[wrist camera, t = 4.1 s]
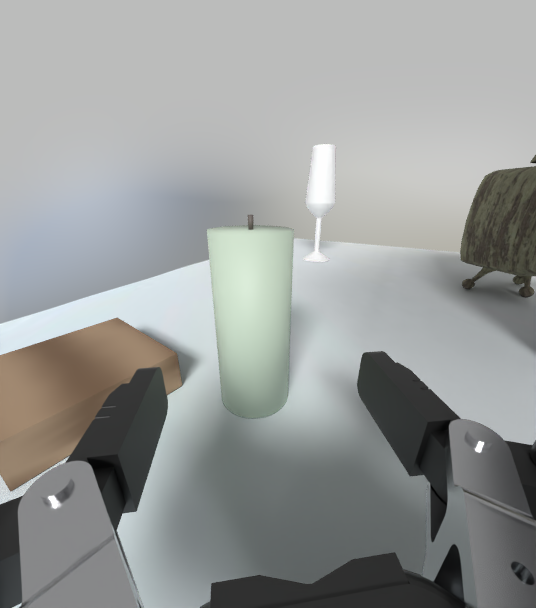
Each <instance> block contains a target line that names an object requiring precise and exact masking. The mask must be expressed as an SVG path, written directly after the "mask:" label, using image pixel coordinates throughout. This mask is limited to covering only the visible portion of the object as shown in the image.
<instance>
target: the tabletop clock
mask: <svg viewBox="0 0 536 608" xmlns="http://www.w3.org/2000/svg"><path fill="white" fill-rule="evenodd" d="M531 163H536V155H535V157H534V158H533V159H532V160H531ZM460 254H461V260H462V261H463V262H465V263H468V264H472V265H476V266H480V267H483V268H482V270H481V271H480V272H479V273H478V274H477V275H476V276H475V277H474V278H472V279H466V280H464V281H463V282H462V286H463V287H464V288H466V289H470V288H472V287H474V285H475V283H474V282H475V281H476V280H478V279H479V278H481V277H482V276H484V275H485V274H487V273H490V272H493V271H496V270H497V271H501V272H505V273H509V274H513V275H517V276H515V277H514V278H513V282H514V283H515V284H518V285H519V284H523V283H524V286H525V287H522V288H521V289H520V290H519V294H520V295H521V296H523V297H530V296H532V295H533V294H534V289H533V288H531V287H529V286H530V282H531V277H532V276H536V166H534V167H525V168H515V169H505V170H498V171H495V172H492V173H490V174H488V175H486V176H485V177H484V179H483V181H482V182H481V184H480V186H479V188H478V190H477V192H476V195H475V198H474V200H473V203H472V205H471V208H470V211H469V214H468V217H467V220H466V225H465V229H464V234H463V238H462V243H461V251H460Z"/></svg>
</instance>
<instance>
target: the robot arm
mask: <svg viewBox="0 0 536 608" xmlns="http://www.w3.org/2000/svg"><path fill="white" fill-rule="evenodd" d="M357 387H358V393H359V396H360V398H361V400H362V401H363V403H364V404H365V406H366V407H367V409H368V411H369V412H370V414H371V415H372V417H373V419H374V420H375V422H376V423H377V425H378V426H379V428H380V430H381V431H382V433H383V434H384V436H385V437H386V439H387V441H388V442H389V444H390V445H391V447H392V449H393V450H394V452H395V453H396V455H397V456H398V458H399V460H400V461H401V463H402V464H403V466H404V467H405V469H406V471H407V472H408V474H409V475H410V476H418V475H425V477H426V478H427V479H428V484H427V489H426V554H425V560H424V565H423V571H422V576H421V575H419V574H416V573H413V572H410V571H407V570H403V569H402V567H401V565H400V562H399V560H398V558H397V556H396V554H395V552H394V553H388V554H382V555H377V556H371V557H365V558H359V559H353V560H351V561H349V562H348V563H346V564H344V565H343V566H341V567H340V568H338V569H336V570H335V571H333V572H331V573H330V574H328V575H326V576H325V577H323V578H321V579H320V580H318V581H316V582H315V583H312V584H303V583H297V582H292V581H287V580H282V579H277V578H272V577H266V576H261V575H257V576H252V577H246V578H240V579H234V580H228V581H222V582H216V583H212V584H211V601H210V602H208V603H206V604H204V605H203V606H201V607H200V608H536V440H535V442H534V444H533V445H527V444H521V443H516V442H510V441H504V440H503V439H502V438H501V437H500V436H499V435H498V434H497V433H495V432H494V431H493V430H491V429H490V428H488V427H486V426H484V425H482V424H480V423H477V422H474V421H471V420H466V419H460V418H459V417H458V416H457V415H456V414H455V413H454V412H453V411H452V410H451V409H450V408H449V407H448V406H447V405H446V404H445V403H444V402H443V401H442V400H441V399H440V398H439V397H438V396H437V395H436V394H435V393H434V392H433V391H432V390H431V389H428V387H427V386H426V385H425V384H424V383H423V382H422V381H420V379H419V378H418V377H417V376H416V375H415V374H414V373H413V372H412V371H411V370H410V369H408V368H406V367H404V366H403V365H401V364H399V363H395V362H394V361H393V360H392V359H391V358H390V357H389V356H388V355H387V354H386V353H385V352H383V351H379V352H365V353H363V355H362V358H361V364H360V370H359V376H358V383H357ZM167 409H168V399H167V394H166V389H165V384H164V379H163V374H162V370H161V368H160V367H152V368H139V369H137V370H136V372H135V374H134V375H133V377H132V379H131V381H130V382H129V383H124V384H121V385H120V386H119V387H117V388H116V389H115V390H114V391H113V392H112V393H110V394H109V396H108V397H107V399H106V400H105V402H104V403H103V405H102V408H101V409H100V410H99V411H98V413H97V414H96V416H95V419H94V420H93V421H92V422H91V424H90V425H89V427H88V429H87V430H86V432H85V433H84V435H83V436H82V438H81V439H80V441H79V443H78V444H77V446H76V447H75V449H74V450H73V452H72V454H71V455H70V457H69V458H68V460H67V461H66V463H64V464H62V465H59V466H57V467H55V468H53V469H52V470H50V471H48V472H47V473H45V474H44V475H42V476H41V477H40V478H39V479H38V480H36V481H35V482H34V483H33V484H32V485H31V486H30V488H29V489H28V490H27V491H26V493H25V494H24V495H23V496H21V497H19V498H16V499H13V500H11V501H8V502H6V503H3V504H0V608H12V607H14V606H16V605H18V604H20V603H22V605H21V607H19V608H144V606H143V603H142V601H141V598H140V595H139V592H138V589H137V587H136V584H135V581H134V578H133V575H132V572H131V569H130V567H129V564H128V561H127V558H126V555H125V552H124V549H123V547H122V544H121V541H120V538H119V535H118V532H117V527H118V525H119V522H120V519H121V516H122V513H129V512H136V511H137V508H138V505H139V502H140V499H141V495H142V492H143V489H144V486H145V483H146V479H147V476H148V473H149V470H150V467H151V463H152V460H153V457H154V454H155V451H156V448H157V444H158V441H159V438H160V435H161V432H162V428H163V425H164V422H165V419H166V415H167Z"/></svg>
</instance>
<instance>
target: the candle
mask: <svg viewBox="0 0 536 608" xmlns="http://www.w3.org/2000/svg"><path fill="white" fill-rule="evenodd" d="M207 237H208V248H209V258H210V270H211V281H212V292H213V304H214V315H215V326H216V337H217V348H218V360H219V371H220V382H221V393H222V401H223V403H224V405H225V407H226V408H227V409H228V410H229V411H230V412H232V413H233V414H235V415H237V416H240V417H244V418H252V419H254V418H263V417H267V416H270V415H272V414H274V413H276V412H277V411H279V410H280V409H281V408H282V407H283V406H284V404H285V403H286V401H287V397H288V376H289V349H290V322H291V295H292V267H293V240H294V229H292V228H288V227H280V226H260V225H259V226H258V225H253V215H248V225H247V226H226V227H217V228H211V229H208V230H207Z"/></svg>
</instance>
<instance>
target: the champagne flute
mask: <svg viewBox="0 0 536 608" xmlns="http://www.w3.org/2000/svg"><path fill="white" fill-rule="evenodd" d="M335 163H336V146H335V145H331V144H322V145H316V146H313V150H312V157H311V165H310V172H309V179H308V187H307V194H306V201H305V203H306V206H307V208H308V210H309V211H310V212H311V213H312V214H313V215H314V216H315V217H316V233H315V247H314V251H313V252H312V253H310V254H308V255H307V256H305V257H303V260H306V261H312V262H325V261H329V260H330V259H329V258H328V257H326V256H325V255H324V254H322V253H321V252H319V245H320V231H321V218H322V217H323V216H325V215H326V214H327V213H328V212H329V211H330V210H331V209H332V208H333V206H334V204H335V167H336V164H335Z"/></svg>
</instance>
